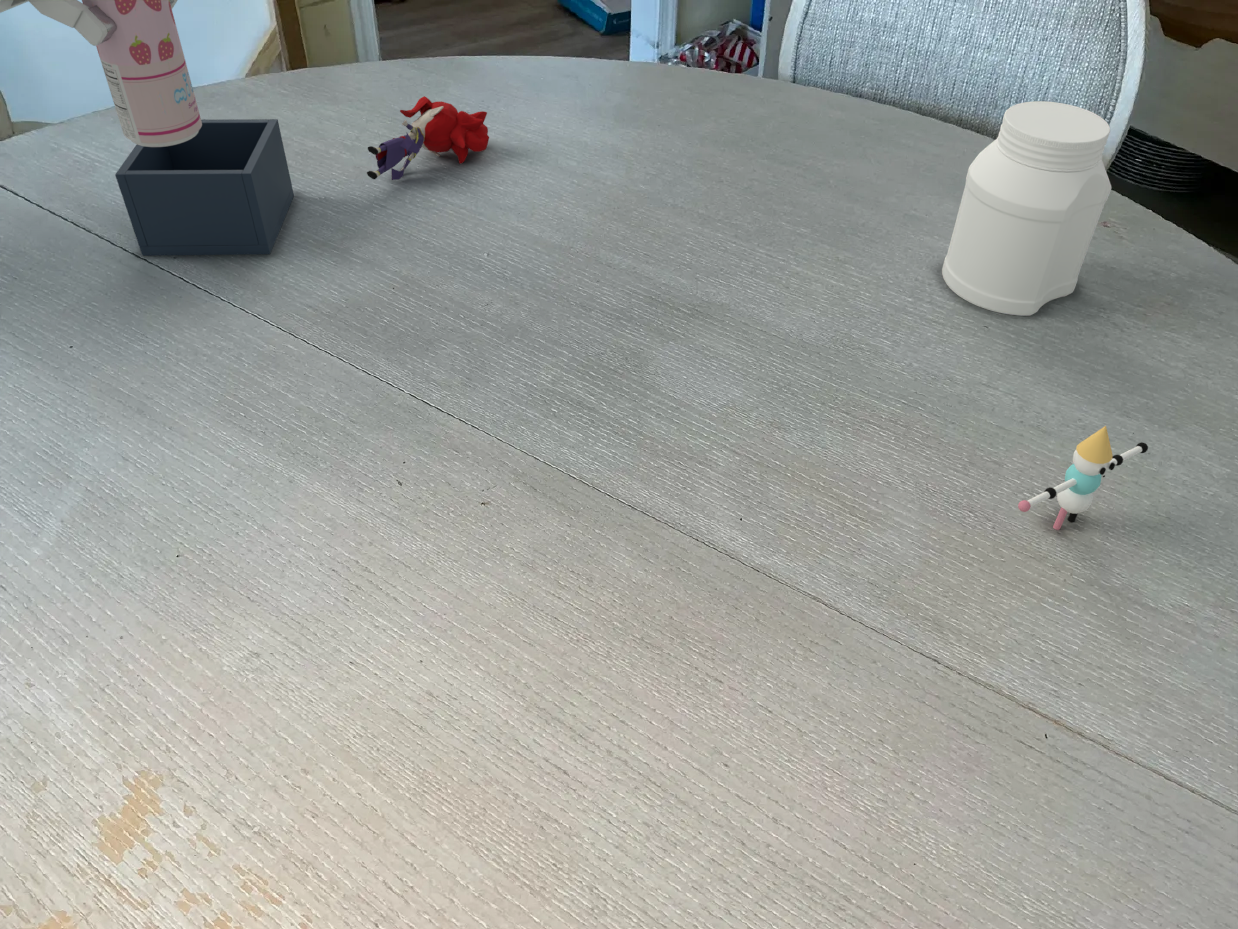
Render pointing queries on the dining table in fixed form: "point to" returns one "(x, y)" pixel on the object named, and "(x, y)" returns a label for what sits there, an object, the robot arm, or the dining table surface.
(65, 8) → the robot arm
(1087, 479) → the toy figure
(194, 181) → the bin
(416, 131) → the figurine
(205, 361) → the dining table surface
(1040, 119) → the jar
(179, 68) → the beverage can
